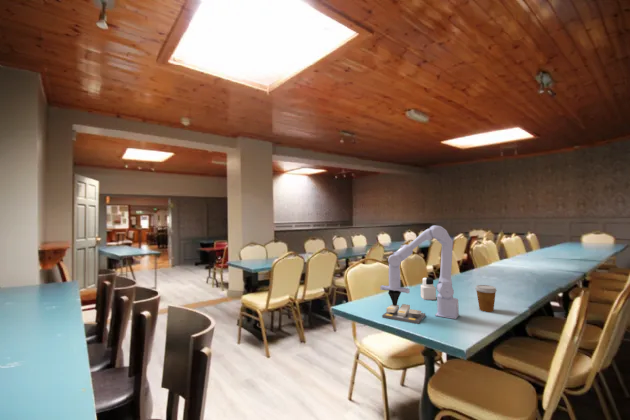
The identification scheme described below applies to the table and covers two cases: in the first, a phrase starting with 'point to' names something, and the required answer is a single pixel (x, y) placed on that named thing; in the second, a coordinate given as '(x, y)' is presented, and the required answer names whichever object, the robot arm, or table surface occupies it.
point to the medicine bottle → (428, 289)
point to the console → (408, 318)
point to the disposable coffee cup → (486, 297)
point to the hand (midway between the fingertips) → (394, 305)
